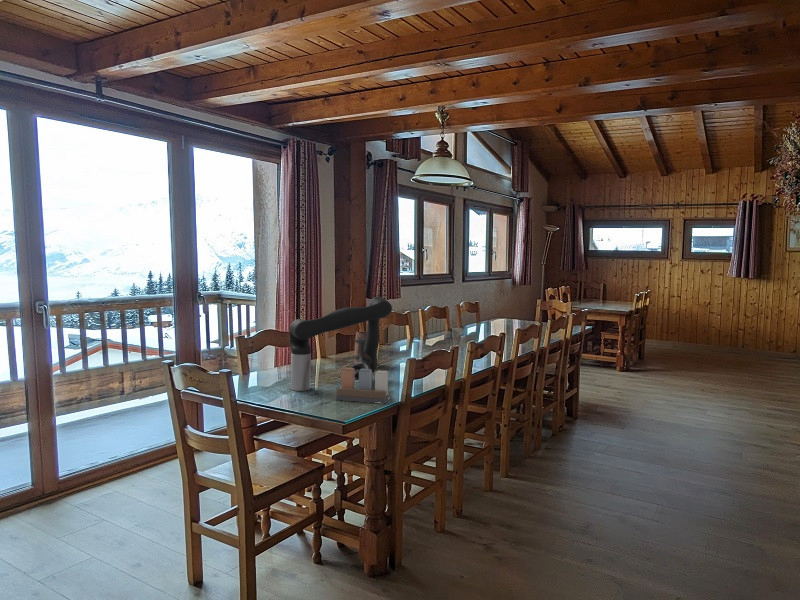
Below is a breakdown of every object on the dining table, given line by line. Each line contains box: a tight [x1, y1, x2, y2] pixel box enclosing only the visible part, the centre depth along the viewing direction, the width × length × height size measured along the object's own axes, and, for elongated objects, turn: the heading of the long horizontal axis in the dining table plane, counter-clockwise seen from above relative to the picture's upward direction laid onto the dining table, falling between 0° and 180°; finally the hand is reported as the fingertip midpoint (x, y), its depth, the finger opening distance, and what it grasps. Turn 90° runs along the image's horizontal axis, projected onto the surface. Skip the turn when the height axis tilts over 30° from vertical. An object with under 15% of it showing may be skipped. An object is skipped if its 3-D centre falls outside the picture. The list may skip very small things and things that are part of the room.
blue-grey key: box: [358, 369, 373, 390], centre depth 245 cm, size 4×5×11 cm
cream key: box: [374, 370, 389, 396], centre depth 242 cm, size 4×5×11 cm
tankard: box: [350, 331, 371, 366], centre depth 314 cm, size 24×17×20 cm
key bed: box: [335, 387, 391, 404], centre depth 244 cm, size 12×22×5 cm, turn 79°
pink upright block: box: [340, 367, 356, 389], centre depth 247 cm, size 4×5×11 cm
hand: (349, 378), depth 249 cm, fingers closed
